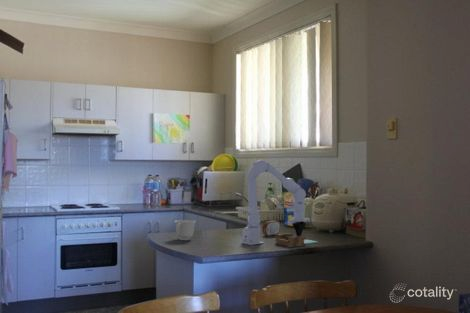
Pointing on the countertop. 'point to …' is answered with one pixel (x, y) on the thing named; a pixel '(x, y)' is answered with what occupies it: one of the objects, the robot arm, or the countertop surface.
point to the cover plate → (309, 242)
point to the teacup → (184, 228)
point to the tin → (271, 228)
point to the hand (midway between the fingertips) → (298, 236)
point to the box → (289, 240)
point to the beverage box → (288, 208)
